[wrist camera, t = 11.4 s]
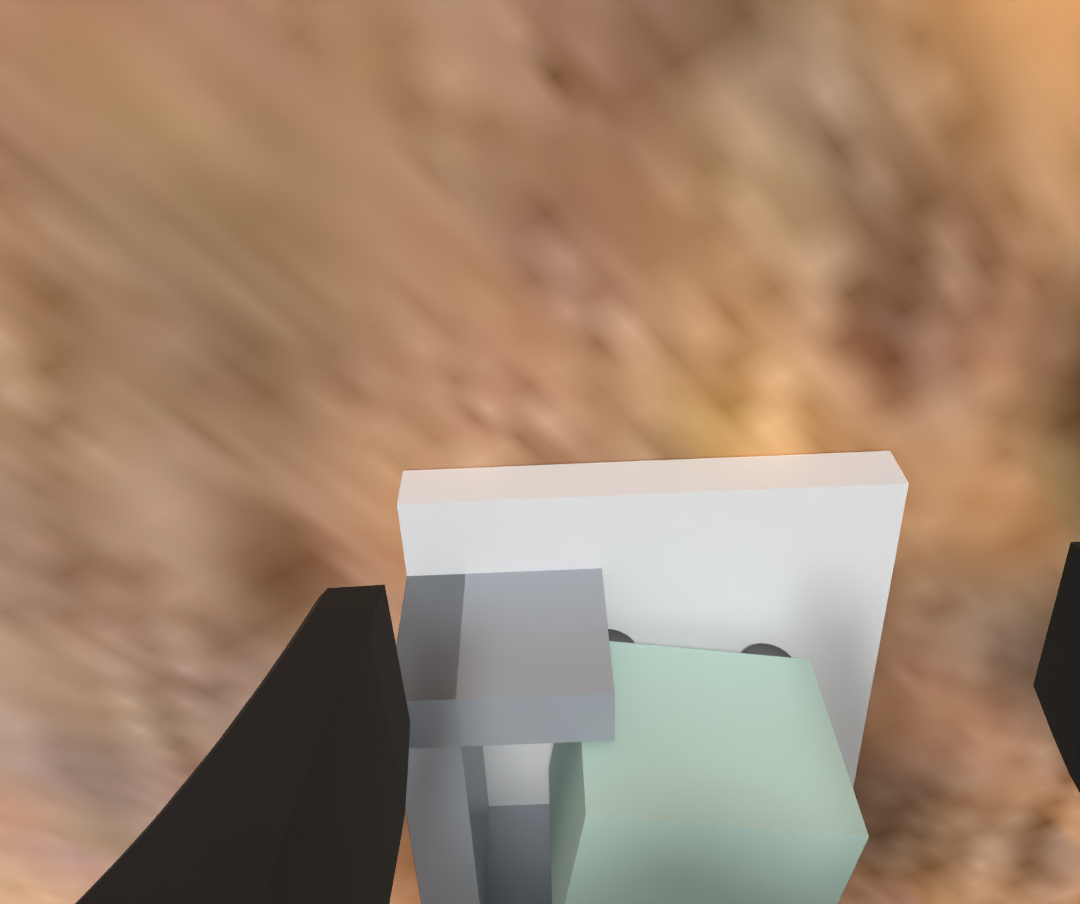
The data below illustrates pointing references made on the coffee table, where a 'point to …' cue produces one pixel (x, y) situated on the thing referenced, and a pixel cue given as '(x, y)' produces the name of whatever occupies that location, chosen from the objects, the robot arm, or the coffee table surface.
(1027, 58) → the coffee table surface
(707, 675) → the pale green block
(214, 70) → the coffee table surface
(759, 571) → the dock
